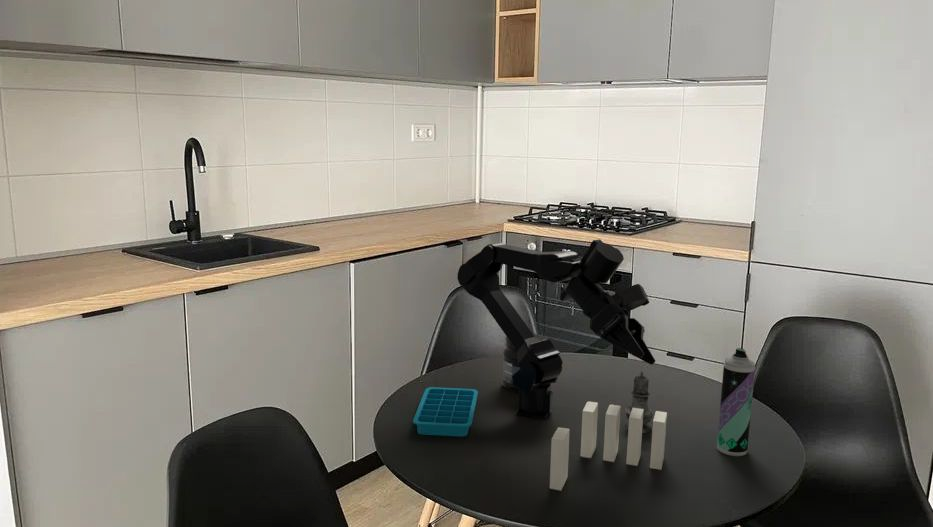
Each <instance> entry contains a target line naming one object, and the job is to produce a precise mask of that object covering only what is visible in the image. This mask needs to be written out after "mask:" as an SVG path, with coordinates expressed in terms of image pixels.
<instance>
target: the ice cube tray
mask: <svg viewBox="0 0 933 527" xmlns="http://www.w3.org/2000/svg"><path fill="white" fill-rule="evenodd" d="M478 394H479V391H478V390H477V389H476V388H475V389H474V388H455V387H454V388H453V387H437V386H436V387H435V386H430V387H426V388H425V390H424V392H423V395H422V397H421V400H420V403H419V405H418V407H417V410H416V413H415V415H414V418H413V420H412V423H413V424H414V425H416V428H417V429H416V430H417V434H419V435H424V436H425V435H426V436H444V437H448V436H449V437H466V436H468V434H469V429H470V427H471V426H472V423H473V421H474V414H475V410H476V405H477V401H478V396H479V395H478Z"/></svg>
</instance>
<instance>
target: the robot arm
mask: <svg viewBox="0 0 933 527" xmlns="http://www.w3.org/2000/svg"><path fill="white" fill-rule="evenodd" d="M624 258H625V257H624V254H623V253H622V252H621V250H620V249H618V247H614V246H613V245H611V244H609V243H606V242H603V241H602V240H601V239H598V238H597V239H594V240H592V241H591V242H590V244H589V247H588V249H587V250H586V252H585V253H584V255H583V256H579V254H578V253H577V252H575V251H573V250H563V251H562V250H561V251H560V250H559V251H557V250H556V251H539V250H535V249H531V248H530V249H529V248H526V247H525V248H524V247H520V246H514V245H511V244H510V245H509V244H507V243H504V242H496V243H489V244H486V245H485V246H484V247H482V249H481V250H480V252H478V253H476V254H475V255H473V256H472V257H470V259H468V260H467V261H466V262H465V263H463V264H461V265H460V266H459V268H458V272H457V282H458V284H459V285H460V287H462V288H463V290H464V291H465V292H466V293H467V294H468V295H470V296H471V297H474V298H476V299H477V300H479V301H481V302H482V303H483V305H484V306H485V308H486V309H487V311H488V312H489V313H490V315H491V316H492V318H493V319H494V320H495V322H496V324H497V326H499V328H500V330H501V331H502V332H503V334H504V335H505V337H506V336H507V338H508V339H509V340H510V342H511V343H512V345H513V346H514V348H515V349H516V351H517V358H518V365H519V367H520V369H519V370H518V371H517V372H516V373H515V374H514V375H513V376H512V380H513V384H514V386H515V387H518V388H519V393H518V403H517V405H518V406H517V410H516V411H515V415H516V416H517V415H518V416H524V417H531V418H537V419H546V418H547V417H548V415H549V414H550V413H551V412H552V411H553V400H554V392H553V391H552V390H551V389H552V387H551V386H552V384H554V383H557V380H558V377H559V376H560V375H561V373H562V370H563V359H562V358H561V355H560V354H561V351H559V350H558V349H557V348H556V347H555V346H554V343H553V342H552V341H551V339H549V338H546V340H542V341H541V340H539V339H537V338H536V337H535V336H534V335H533V333H534V332H532V330H530V328H529V327H528V325H527V324H526V322H525V321H524V320H523V318H522V317H521V315H520V314H519V312H518V311H517V310H516V308H515V307H514V306H513V305H512V303H511V302H510V300H509V299H508V297H507V296H506V295H505V294H504V292H503V291H502V290H501V288H500V286H501V284H500V276H499V275H498V273H499V272H500V271H501V270H502V269H503V266H504V265H506V266H510V267H513V268H518V269H523V270H528V271H531V272H534V273H536V274H537V276H538V277H539V278H541V279H544V280H545V281H548V282H550V283H560V282H565V281H568V283H567V284H566V285H565V286H560V288H559V289H560V290H559V291H560V294H559V300H560V301H561V302H564V301H568V300H572V301H573V302H574V303H575V304H576V305H577V306H578V307H579V309H581V311H582V314H584V316H586V317H588V318H589V328H590V330H591V331H593V333H594V334H595V335H596V336H598V337H599V338H600V339H602V340H604V341H606V342H607V343H609V344H611V345H613V346H615V347H617V348H618V349H620V350H622V351H624V352H625V353H627V354H630V355H631V356H633V357H635V358H638V359H639V360H641V361H643V362H645V363H647V364H649V365H650V366H653V365H654V364H655V363H656V359H655V357H654V356H653V353H652V351H651V350H650V349H649V347H648V346H647V343H646V342H645V340H644V333H645V327H644V325H643V324H642V323H641V322H640V321H639V320H637V319H636V318H634V317H629V316H630V315H631V314H630V313H629V312H630V311H633V310H636V309H637V308H640V307H641V306H643V307H644V306H646V305H648V304H650V300H649V298H648V295H647V293H646V291H645V288H644V287H643V286H642V285H641V284H640V283H635V284H633V285H631V286H629V287H626V288H624V289H622V290H620V291H617V292H616V293H615V294H613V295H611V294H610V293H609V292H607V291H605V290H604V289H603V287H602V286H601V285H600V284H607V283H609V281H610V280H611V278H612V277H613V275H614V274H615V272H616V271H617V270H618V268H619V267H620V266H621V264H622V263H623V261H624Z"/></svg>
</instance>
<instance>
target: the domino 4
mask: <svg viewBox="0 0 933 527" xmlns="http://www.w3.org/2000/svg"><path fill="white" fill-rule="evenodd" d="M643 412H644V409H639V408H632V411H631V414H630V416H629V420H628V423H629V428H628V429H627V431H628V432H627V443H626V444H627V445H626V446H627V447H626V460H625V461H626V462H625V463H626V465H630V466H636V467H637V466H638V465H639V461H640V459H641V456H642V454H641V453H642V438H643V433H642V427H643Z"/></svg>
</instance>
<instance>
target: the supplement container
mask: <svg viewBox="0 0 933 527" xmlns="http://www.w3.org/2000/svg"><path fill="white" fill-rule="evenodd" d="M532 333H533V335H534V336H535V337H536V338H537V339H539V340H541V341H542V340H546V339H547V338H546V337H545V336H543V335H541V334H538V333H534V332H532ZM504 340H505V341H504V346H505V347H504V348H503V351H502V358H503V359H502V379H501V380H502V382H501V383H502V385H503V387H504V388H505V389H506V390H508V391H511V392H512V393H518V394H519V388H518V387H515V386H514V384H513V380H512V376H513V375H514V374H515V373H516V372H517V371H518V370H519V369H520V367H519V365H518V358H517V351H516V349H515V348H514V346H513V345H512V343H511V342H510V340H509V339H508V338H507V336H506V335H505V339H504Z"/></svg>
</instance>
